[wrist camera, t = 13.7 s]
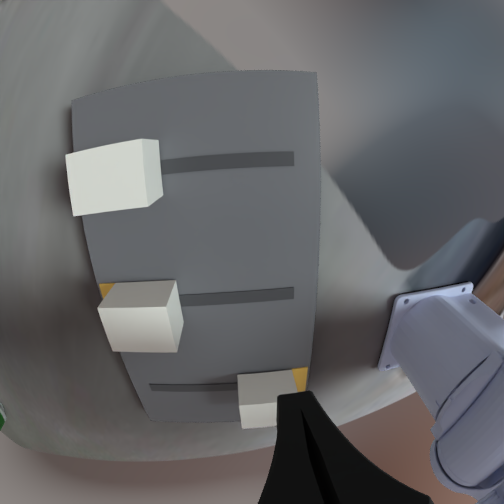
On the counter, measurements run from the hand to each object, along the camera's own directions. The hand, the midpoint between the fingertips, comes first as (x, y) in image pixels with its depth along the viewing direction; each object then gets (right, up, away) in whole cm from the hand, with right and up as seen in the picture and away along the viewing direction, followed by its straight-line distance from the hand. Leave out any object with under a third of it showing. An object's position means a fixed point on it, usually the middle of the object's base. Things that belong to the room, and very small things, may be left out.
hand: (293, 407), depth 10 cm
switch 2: (-8, +3, +6) cm, 11 cm away
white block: (-8, +11, +4) cm, 14 cm away
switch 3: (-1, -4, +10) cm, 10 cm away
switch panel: (-5, +4, +8) cm, 10 cm away
